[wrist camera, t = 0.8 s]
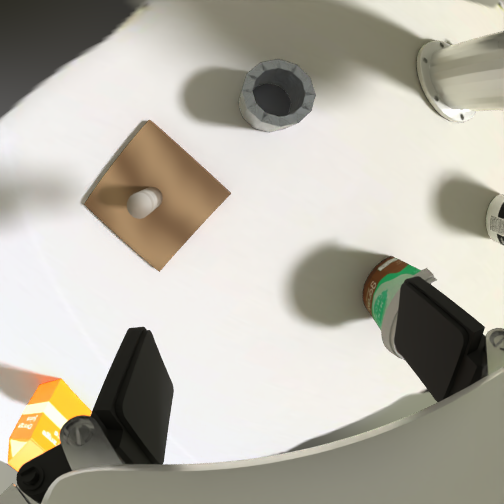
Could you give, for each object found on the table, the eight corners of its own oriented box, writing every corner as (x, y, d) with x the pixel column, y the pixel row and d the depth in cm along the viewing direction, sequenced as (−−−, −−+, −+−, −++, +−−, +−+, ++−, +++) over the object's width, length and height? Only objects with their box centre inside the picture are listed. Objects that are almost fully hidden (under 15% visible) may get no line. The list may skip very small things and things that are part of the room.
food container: (351, 257, 35) (390, 292, 25) (391, 245, 35) (437, 275, 25) (356, 334, 39) (386, 378, 29) (392, 321, 39) (426, 360, 29)
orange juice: (61, 378, 37) (18, 465, 19) (92, 411, 40) (63, 498, 21) (38, 384, 38) (-3, 460, 19) (67, 415, 41) (37, 492, 22)
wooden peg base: (151, 120, 27) (135, 113, 22) (230, 192, 31) (232, 200, 25) (87, 202, 29) (62, 212, 24) (160, 268, 33) (149, 291, 27)
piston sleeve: (268, 66, 27) (278, 47, 21) (309, 105, 28) (328, 95, 23) (226, 103, 28) (227, 90, 22) (269, 143, 29) (280, 140, 24)
